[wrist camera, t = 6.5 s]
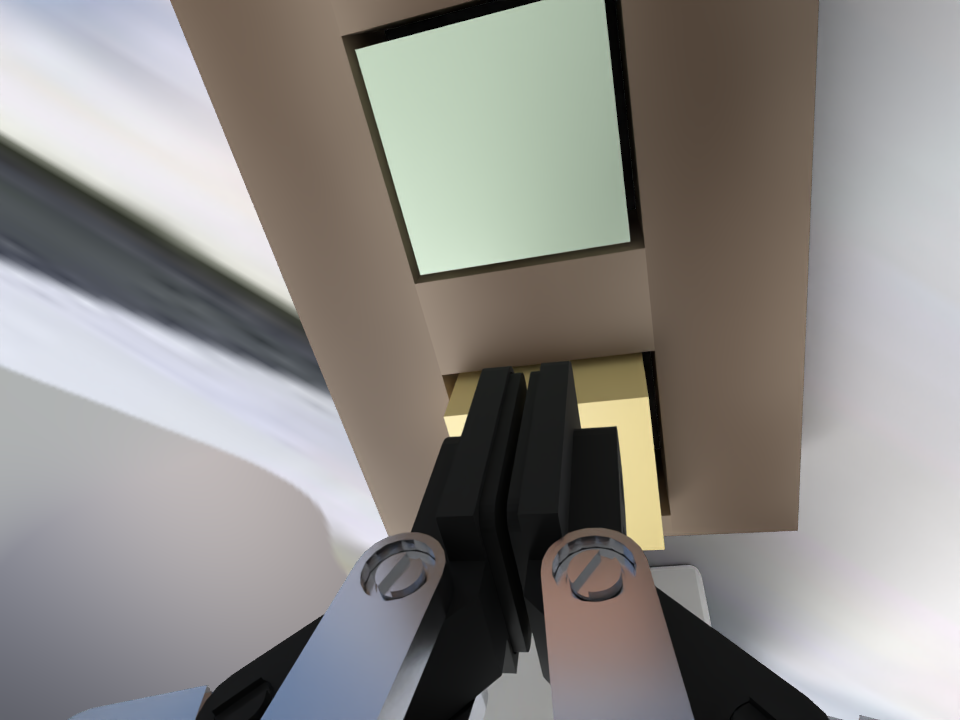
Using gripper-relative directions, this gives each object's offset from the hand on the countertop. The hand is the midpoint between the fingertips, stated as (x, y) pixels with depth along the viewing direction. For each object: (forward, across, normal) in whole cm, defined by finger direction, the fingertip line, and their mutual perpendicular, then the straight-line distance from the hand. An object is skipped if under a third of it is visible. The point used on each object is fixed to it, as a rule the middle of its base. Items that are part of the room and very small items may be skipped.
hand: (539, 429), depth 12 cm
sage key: (+6, 0, -5) cm, 8 cm away
